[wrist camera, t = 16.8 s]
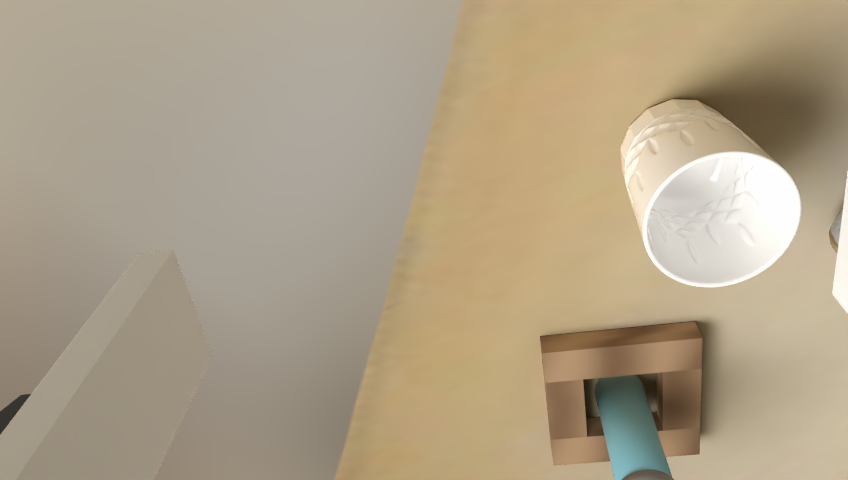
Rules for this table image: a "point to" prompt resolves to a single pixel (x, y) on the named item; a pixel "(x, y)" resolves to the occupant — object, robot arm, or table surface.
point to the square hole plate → (620, 356)
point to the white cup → (706, 195)
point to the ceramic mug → (835, 232)
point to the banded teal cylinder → (630, 430)
